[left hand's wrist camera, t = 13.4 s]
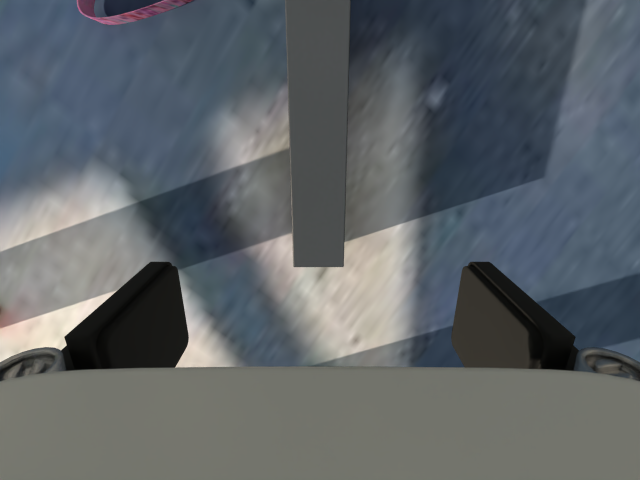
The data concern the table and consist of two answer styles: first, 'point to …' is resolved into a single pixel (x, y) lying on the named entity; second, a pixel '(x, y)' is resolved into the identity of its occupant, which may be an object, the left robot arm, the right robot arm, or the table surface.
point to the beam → (318, 127)
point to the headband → (87, 8)
